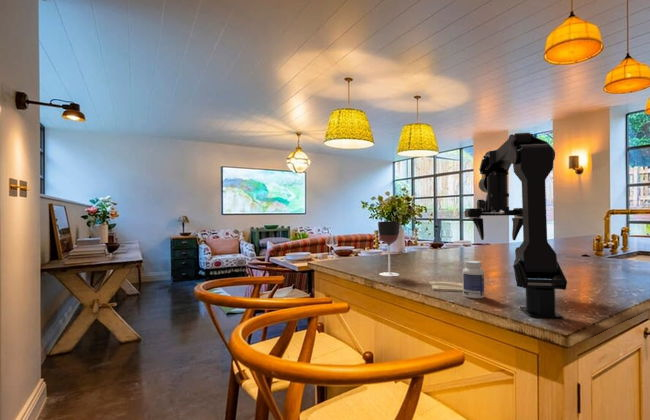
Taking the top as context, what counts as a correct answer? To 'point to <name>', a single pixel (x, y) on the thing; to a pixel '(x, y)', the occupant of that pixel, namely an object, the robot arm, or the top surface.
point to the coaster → (447, 286)
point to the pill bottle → (473, 280)
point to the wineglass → (388, 239)
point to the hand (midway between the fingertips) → (497, 240)
